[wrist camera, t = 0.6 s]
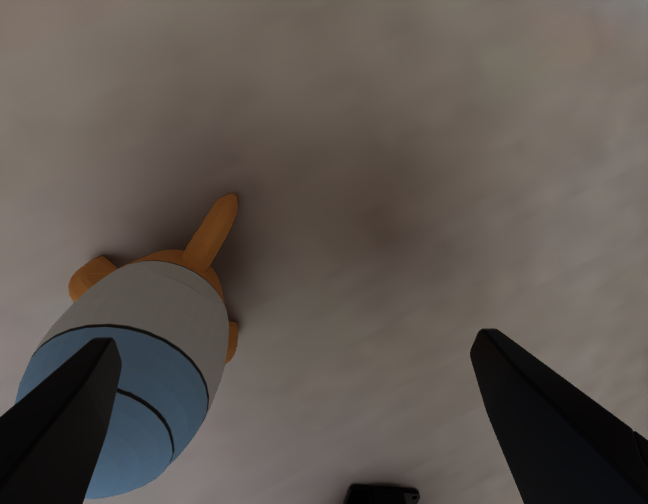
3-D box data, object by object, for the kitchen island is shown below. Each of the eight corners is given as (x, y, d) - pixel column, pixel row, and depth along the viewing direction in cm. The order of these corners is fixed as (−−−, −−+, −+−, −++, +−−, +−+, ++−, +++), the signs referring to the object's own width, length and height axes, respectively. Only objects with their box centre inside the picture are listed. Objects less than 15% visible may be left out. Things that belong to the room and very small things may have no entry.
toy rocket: (217, 154, 23) (243, 321, 10) (290, 283, 29) (361, 486, 16) (54, 232, 22) (-120, 500, 10) (162, 345, 28) (137, 600, 16)
